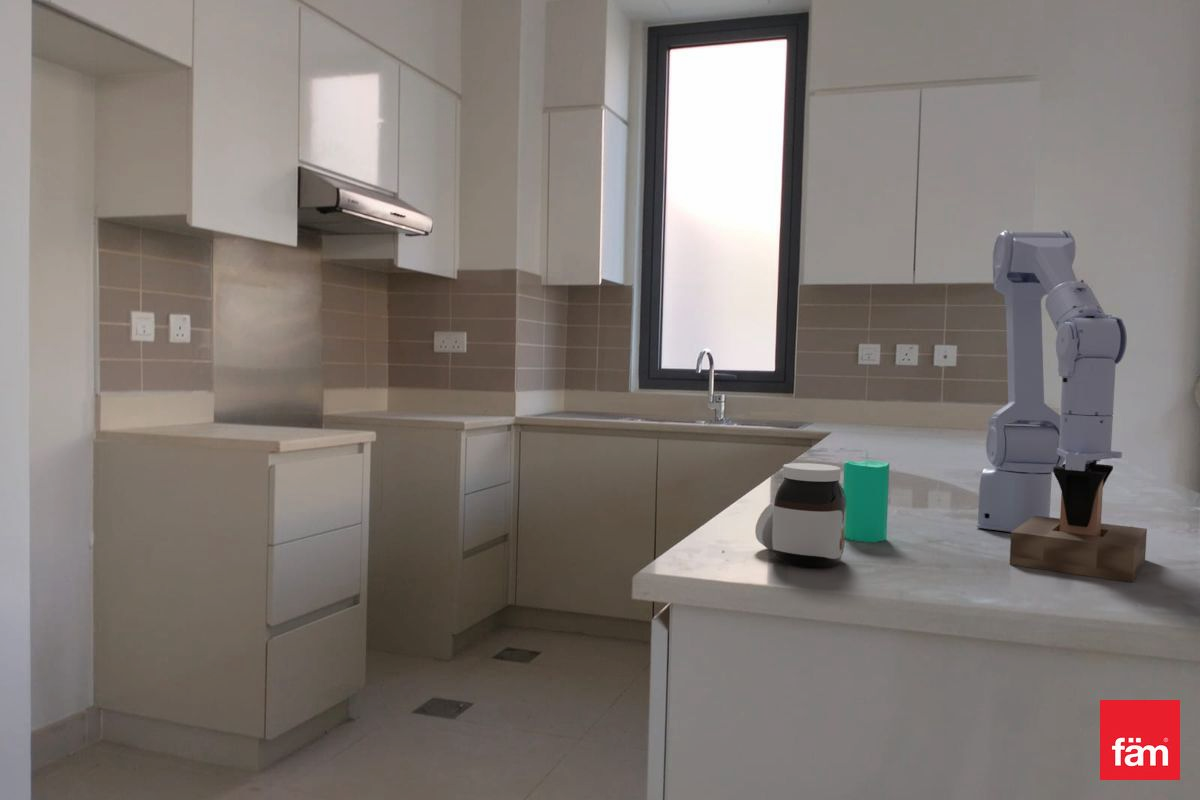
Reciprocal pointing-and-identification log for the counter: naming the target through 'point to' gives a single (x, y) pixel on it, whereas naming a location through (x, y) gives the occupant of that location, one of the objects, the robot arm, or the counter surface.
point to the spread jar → (806, 517)
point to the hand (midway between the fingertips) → (1080, 523)
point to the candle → (866, 500)
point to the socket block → (1079, 549)
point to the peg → (1095, 519)
